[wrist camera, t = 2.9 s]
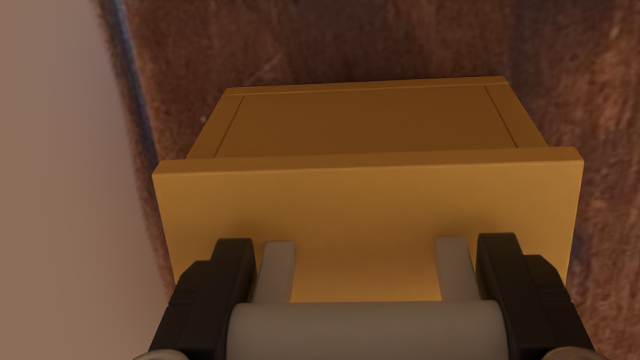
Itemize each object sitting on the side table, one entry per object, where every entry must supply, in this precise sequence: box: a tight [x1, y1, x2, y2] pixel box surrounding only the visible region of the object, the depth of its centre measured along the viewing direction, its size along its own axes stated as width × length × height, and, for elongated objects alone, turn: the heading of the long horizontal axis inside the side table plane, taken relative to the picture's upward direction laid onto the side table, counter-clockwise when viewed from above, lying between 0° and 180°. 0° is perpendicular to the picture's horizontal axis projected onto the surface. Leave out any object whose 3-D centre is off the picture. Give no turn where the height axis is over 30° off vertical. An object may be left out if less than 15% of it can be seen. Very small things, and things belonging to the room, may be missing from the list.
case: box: [185, 76, 549, 159], centre depth 21 cm, size 13×10×7 cm
